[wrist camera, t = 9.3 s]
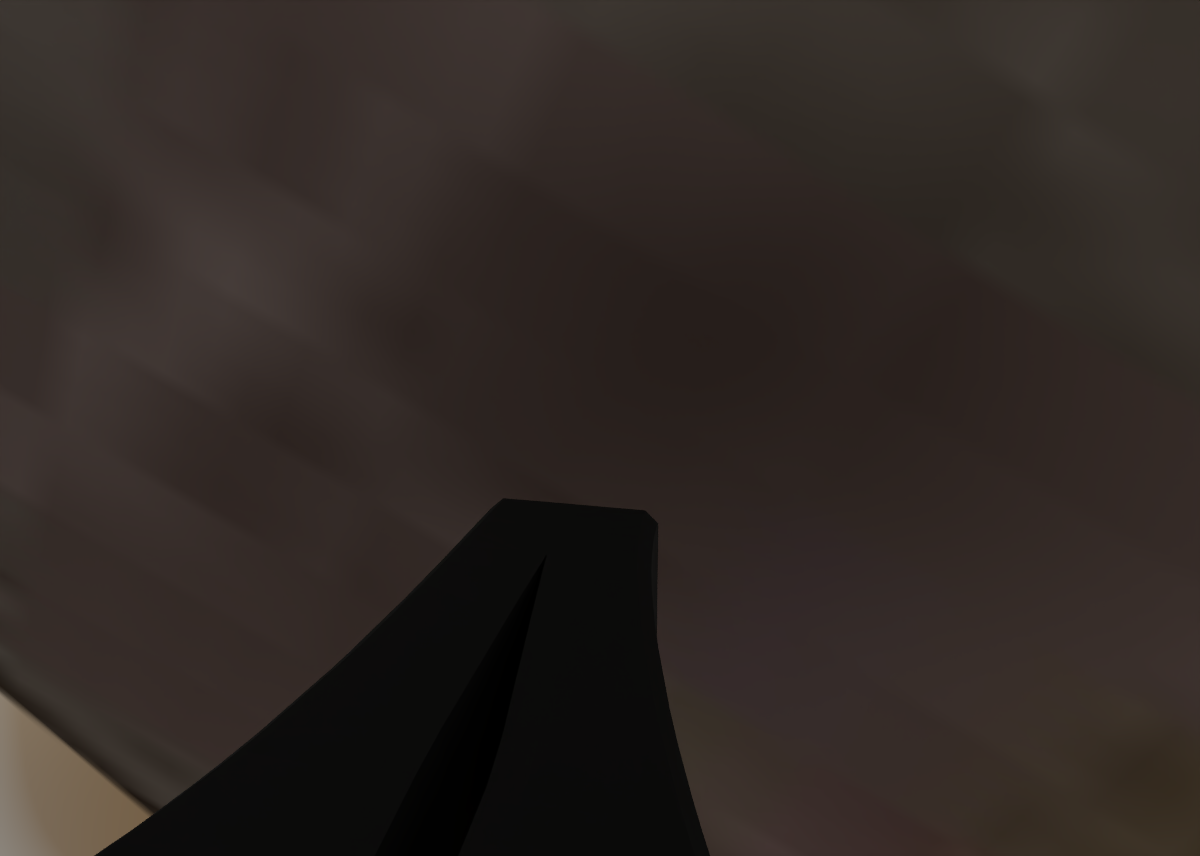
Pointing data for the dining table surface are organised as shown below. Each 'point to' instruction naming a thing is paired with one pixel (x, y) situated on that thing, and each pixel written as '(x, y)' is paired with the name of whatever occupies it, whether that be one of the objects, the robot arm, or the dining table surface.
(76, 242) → the dining table surface
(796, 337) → the dining table surface
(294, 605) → the dining table surface
